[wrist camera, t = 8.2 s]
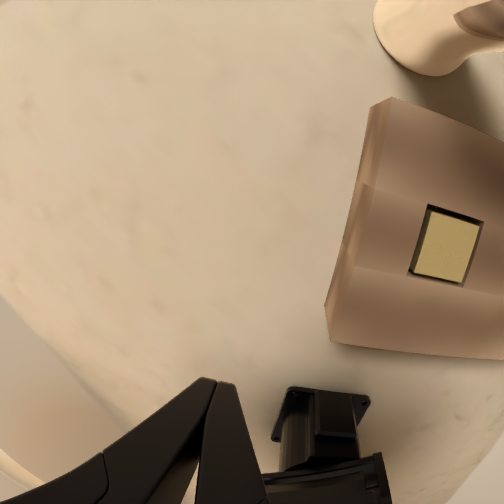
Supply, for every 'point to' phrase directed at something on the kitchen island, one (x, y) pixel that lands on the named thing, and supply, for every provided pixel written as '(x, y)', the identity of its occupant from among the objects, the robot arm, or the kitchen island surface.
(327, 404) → the robot arm
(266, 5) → the kitchen island surface
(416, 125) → the walnut block
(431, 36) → the beer glass
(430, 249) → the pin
